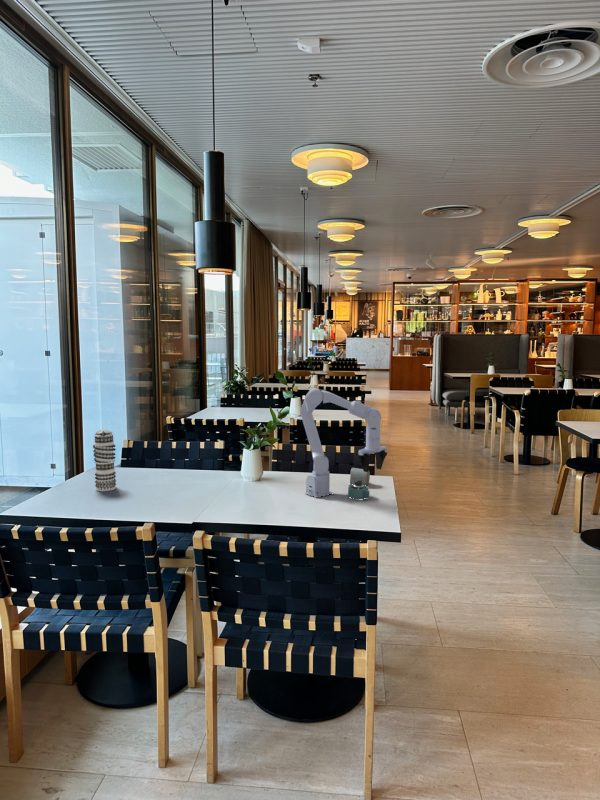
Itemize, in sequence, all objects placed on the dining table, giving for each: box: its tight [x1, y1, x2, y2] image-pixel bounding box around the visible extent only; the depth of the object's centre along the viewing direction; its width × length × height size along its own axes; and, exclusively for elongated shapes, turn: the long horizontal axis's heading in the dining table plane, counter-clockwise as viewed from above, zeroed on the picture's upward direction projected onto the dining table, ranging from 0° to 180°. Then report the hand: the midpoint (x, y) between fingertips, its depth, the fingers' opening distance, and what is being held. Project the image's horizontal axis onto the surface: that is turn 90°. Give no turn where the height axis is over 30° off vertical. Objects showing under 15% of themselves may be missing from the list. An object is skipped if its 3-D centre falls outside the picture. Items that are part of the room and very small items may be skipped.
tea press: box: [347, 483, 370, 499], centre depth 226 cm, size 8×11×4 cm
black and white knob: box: [353, 479, 364, 489], centre depth 227 cm, size 6×6×6 cm
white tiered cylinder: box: [92, 429, 117, 492], centre depth 238 cm, size 9×9×25 cm
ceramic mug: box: [349, 467, 371, 486], centre depth 247 cm, size 11×8×8 cm
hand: (372, 470), depth 229 cm, fingers open, 7 cm apart
